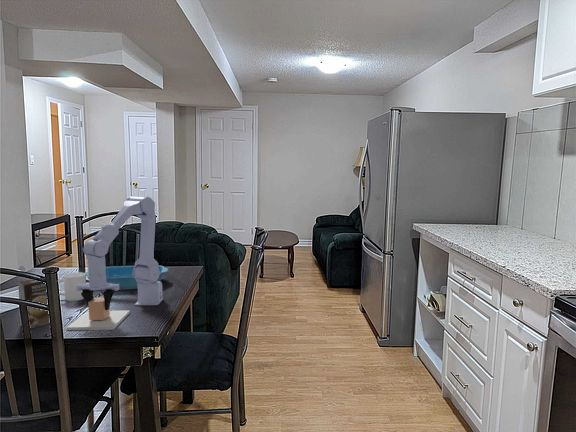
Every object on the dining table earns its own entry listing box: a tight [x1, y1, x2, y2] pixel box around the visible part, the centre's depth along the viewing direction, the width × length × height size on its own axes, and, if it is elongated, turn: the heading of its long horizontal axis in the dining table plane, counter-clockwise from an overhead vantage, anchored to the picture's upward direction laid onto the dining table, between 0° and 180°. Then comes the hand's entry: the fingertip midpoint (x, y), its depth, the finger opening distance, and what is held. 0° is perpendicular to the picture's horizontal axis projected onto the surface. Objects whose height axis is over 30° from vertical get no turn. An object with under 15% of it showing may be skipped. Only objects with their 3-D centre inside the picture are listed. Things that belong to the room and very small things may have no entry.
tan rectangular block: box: [87, 296, 111, 320], centre depth 149 cm, size 5×5×7 cm
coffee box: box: [17, 279, 50, 329], centre depth 146 cm, size 9×6×16 cm
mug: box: [57, 271, 87, 302], centre depth 174 cm, size 12×8×10 cm
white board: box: [66, 310, 131, 331], centre depth 149 cm, size 16×16×6 cm
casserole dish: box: [84, 264, 169, 291], centre depth 195 cm, size 37×22×7 cm, turn 101°
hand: (99, 309), depth 149 cm, fingers closed on tan rectangular block, 5 cm apart
